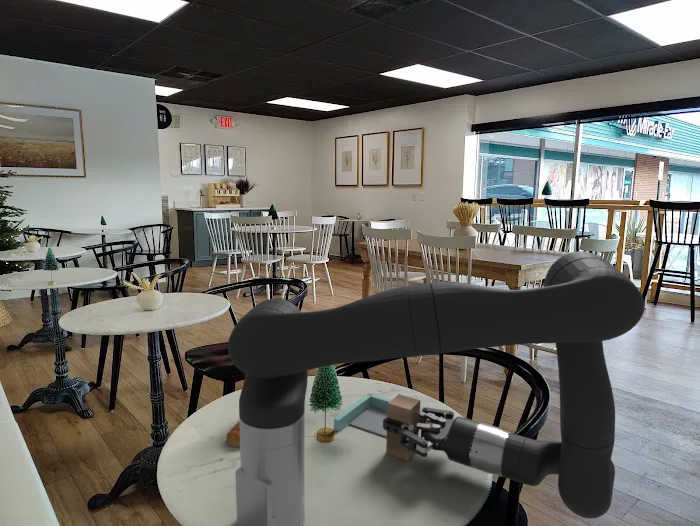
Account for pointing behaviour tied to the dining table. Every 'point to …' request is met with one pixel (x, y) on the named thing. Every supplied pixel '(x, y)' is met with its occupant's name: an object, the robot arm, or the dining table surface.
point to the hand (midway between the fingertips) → (390, 417)
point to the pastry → (234, 436)
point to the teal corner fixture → (365, 415)
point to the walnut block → (406, 413)
